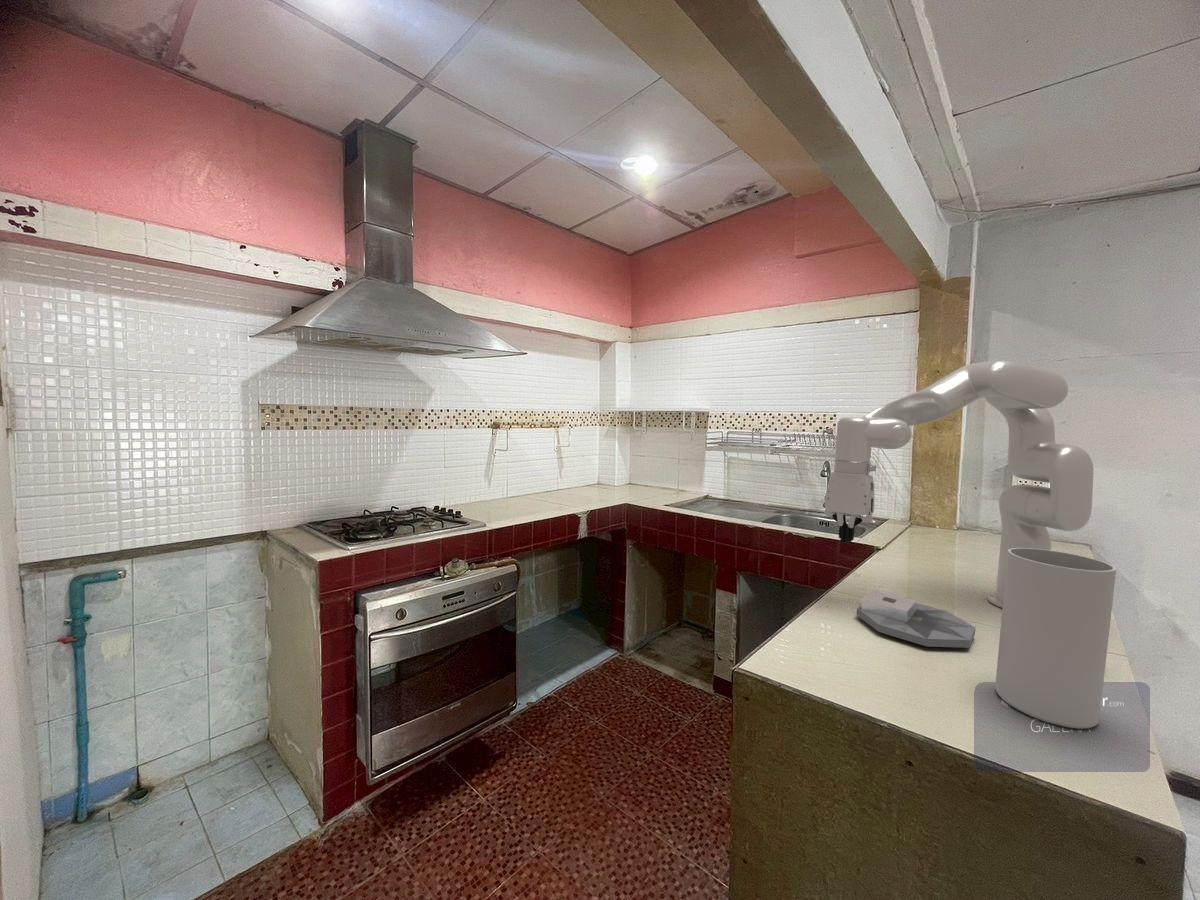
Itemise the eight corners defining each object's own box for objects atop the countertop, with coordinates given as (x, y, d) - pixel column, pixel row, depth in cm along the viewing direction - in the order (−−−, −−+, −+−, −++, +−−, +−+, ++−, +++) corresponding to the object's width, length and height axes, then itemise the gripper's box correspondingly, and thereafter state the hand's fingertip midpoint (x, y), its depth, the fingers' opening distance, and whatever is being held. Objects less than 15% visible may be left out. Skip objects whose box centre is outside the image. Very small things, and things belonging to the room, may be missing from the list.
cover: (915, 611, 109) (916, 600, 109) (906, 622, 103) (907, 610, 103) (872, 599, 115) (873, 589, 115) (861, 609, 109) (862, 598, 109)
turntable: (978, 626, 106) (979, 619, 106) (964, 658, 91) (965, 650, 91) (874, 598, 121) (875, 592, 120) (847, 622, 106) (848, 615, 106)
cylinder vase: (977, 681, 84) (989, 546, 83) (1052, 687, 83) (1066, 550, 81) (1033, 727, 72) (1049, 568, 70) (1123, 735, 71) (1142, 574, 69)
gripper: (890, 470, 111) (884, 546, 113) (825, 464, 122) (820, 533, 123) (881, 472, 106) (875, 552, 107) (814, 465, 116) (808, 538, 118)
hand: (845, 542), depth 115 cm, fingers closed
